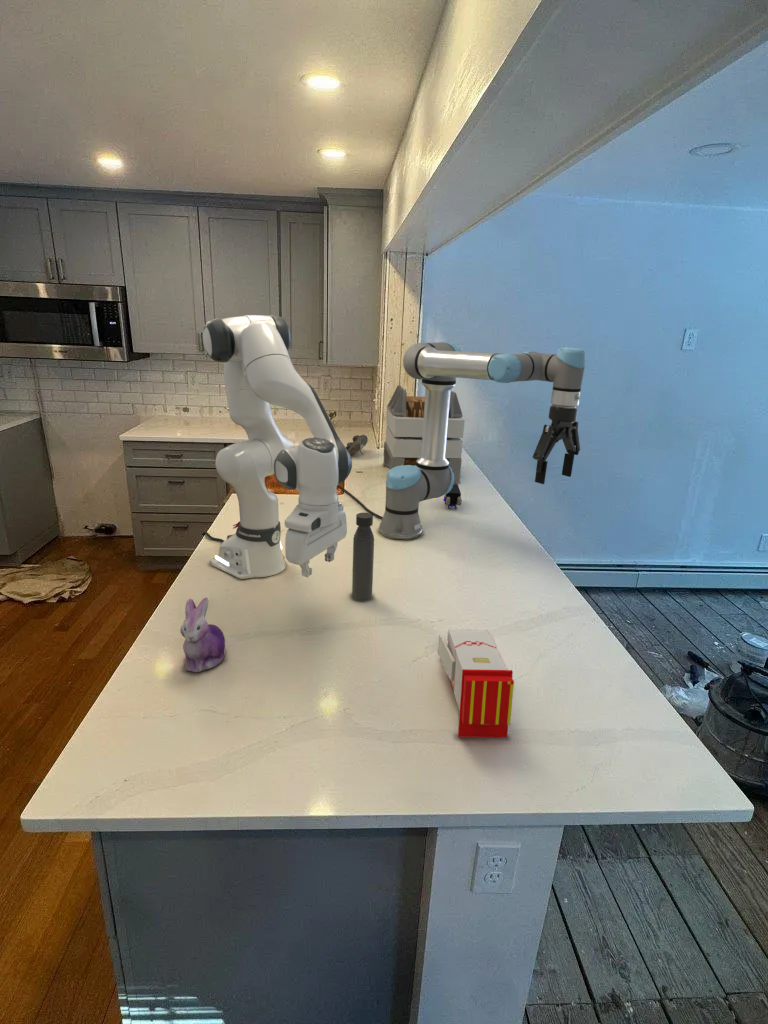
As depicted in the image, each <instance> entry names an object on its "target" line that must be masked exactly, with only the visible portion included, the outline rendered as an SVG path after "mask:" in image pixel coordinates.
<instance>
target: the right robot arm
mask: <svg viewBox="0 0 768 1024" xmlns="http://www.w3.org/2000/svg"><path fill="white" fill-rule="evenodd" d="M586 361H587V352H586V350H585V349H583V348H578V347H577V348H576V347H575V348H573V347H560V348H558V350H557V353H556V354H553V353H544V352H538V351H524V352H521V353H512V352H511V353H509V352H508V353H507V352H506V353H505V352H481V351H462V350H461V349H460V347H459V346H458V345H457V344H455V343H451V342H445V341H444V342H442V341H441V342H440V341H439V342H438V341H437V342H417V343H415V344H412V345H411V346H409V347H408V348H407V350H406V351H405V353H404V355H403V359H402V365H403V369H404V371H405V372H406V374H407V375H408V376H410V377H411V378H412V379H415V380H421V385H422V386H423V387H424V388H425V393H424V397H425V405H424V420H423V435H422V450H421V457H420V458H418V459H417V461H416V466H413V465H401V466H396V467H394V468H392V469H390V468H389V470H388V472H387V474H386V479H385V504H384V505H385V507H384V508H385V509H384V513H383V515H382V516H381V515H380V514H378V513H375V512H373V511H372V510H370V509H369V508H368V507H366V505H365V504H364V503H363V502H362V501H361V500H359V499H358V498H357V497H356V496H354V495H353V494H352V493H351V492H349V491H348V490H347V489H345V488H344V487H342V486H340V484H338V485H337V488H338V489H340V490H341V491H343V492H344V493H345V494H347V495H348V496H349V497H351V498H352V499H353V500H354V501H355V502H356V503H358V504H359V505H360V506H361V507H362V508H363V509H364V510H365V511H366V512H367V513H370V514H372V515H373V517H376V518H378V519H380V520H381V522H379V525H378V533H379V534H380V535H381V536H382V537H385V538H387V539H389V540H395V541H410V540H415V539H418V538H420V537H421V536H422V535H423V525H422V524H421V518H420V515H419V507H420V506H419V505H420V502H423V501H427V500H431V499H437V498H440V497H444V495H445V494H447V493H448V492H449V491H450V490H451V489H452V487H453V484H455V483H454V473H452V469H451V467H450V466H449V462H448V461H447V459H446V458H445V453H446V441H447V429H448V417H449V405H450V393H451V391H452V389H453V388H454V387H455V386H456V385H457V378H458V379H469V380H472V379H473V380H483V381H493V382H496V383H498V384H499V383H501V384H509V383H515V382H531V381H540V382H549V383H552V390H551V396H550V404H551V405H550V406H549V412H548V419H549V420H551V423H550V424H546V423H545V424H543V429H542V433H541V435H540V438H539V440H538V443H537V445H536V448H535V449H534V452H533V454H532V459H533V460H536V467H535V478H534V483H537V484H540V485H544V484H545V482H546V476H547V468H548V463H549V462H548V461H547V459H548V458H549V456H550V454H551V452H552V450H553V448H554V447H555V445H556V444H557V443H559V441H561V440H562V443H563V445H564V448H565V451H566V453H564V456H563V463H562V468H561V469H562V470H561V476H565V477H569V478H571V477H572V472H573V466H574V461H575V460H574V459H575V456H578V455H579V453H580V451H581V444H580V436H579V422H578V421H577V419H578V412H579V409H578V406H579V405H580V399H581V391H582V385H583V379H584V373H585V369H586Z"/></svg>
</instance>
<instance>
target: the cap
mask: <svg viewBox="0 0 768 1024" xmlns="http://www.w3.org/2000/svg"><path fill="white" fill-rule="evenodd" d="M373 523H374V515H372V514H371V513H369V512H359V513H356V514H355V525H356V526H357V527H358V526H360V527H372V526H373Z"/></svg>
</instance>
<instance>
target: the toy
mask: <svg viewBox="0 0 768 1024" xmlns="http://www.w3.org/2000/svg"><path fill="white" fill-rule="evenodd" d="M446 640H447V643H446V641H445V639H444V636H443V635H442V634H439V637H438V646H437V656H438V657H439V659H440V661H441V663H442V666H443V668H444V670H445V672H446V674H447V677H448V679H449V681H450V684H451V687H452V690H453V693H454V697H455V701H456V705H457V708H458V711H459V714H458V715H459V716H458V730H457V731H458V732H457V737H458V738H508V731H509V726H510V725H511V717H512V707H513V697H514V696H513V695H514V684H515V680H514V679H513V673H514V671H513V670H512V669H508V667H507V665H506V662H505V661H504V659H503V658H502V655H501V653H500V651H499V649H498V647H497V643H496V639H495V637H494V635H493V634H491V632H490V631H489V629H467V628H466V629H465V628H463V629H461V628H460V629H459V628H448V630H447V639H446Z"/></svg>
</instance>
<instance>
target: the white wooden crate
mask: <svg viewBox="0 0 768 1024" xmlns="http://www.w3.org/2000/svg"><path fill="white" fill-rule="evenodd" d="M407 394H408V393H407V390H406V389H404V388H403V387H402V385H399V384H398V385H397V386H396V388H395V390H394V392H393V394H392V395H391V398H390V400H389V402H388V404H387V405H386V413H385V414H386V415H385V423H386V428H385V438H384V442H383V466H384V467H388V468H389V470H390V469H392V468H394V467H396V466H401V465H404V466H405V465H413V466H416V461H417V459H418V458H420V457H421V450H422V435H423V420H424V405H425V396H415V395H414V396H413V395H412V396H411V395H407ZM464 429H465V419H464V418H463V411H462V408H461V405H460V402H459V398H458V395H457V392H455V391H453V390H451V393H450V405H449V417H448V429H447V441H446V453H445V458H446V459H447V461H448V462H449V466H450V467H451V469H452V473H454V484H459V483H461V472H462V461H463V460H462V453H463V442H464V441H463V440H462V439H463V438H464V431H465V430H464Z"/></svg>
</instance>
